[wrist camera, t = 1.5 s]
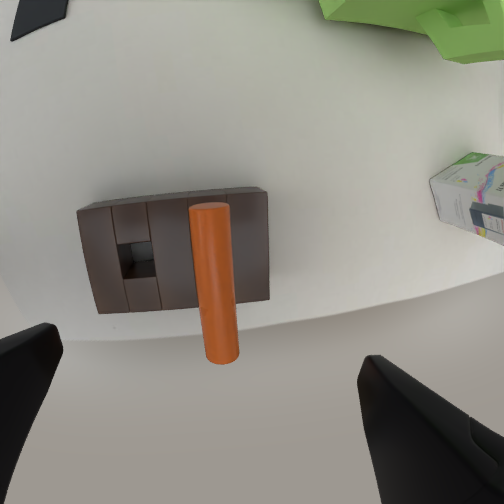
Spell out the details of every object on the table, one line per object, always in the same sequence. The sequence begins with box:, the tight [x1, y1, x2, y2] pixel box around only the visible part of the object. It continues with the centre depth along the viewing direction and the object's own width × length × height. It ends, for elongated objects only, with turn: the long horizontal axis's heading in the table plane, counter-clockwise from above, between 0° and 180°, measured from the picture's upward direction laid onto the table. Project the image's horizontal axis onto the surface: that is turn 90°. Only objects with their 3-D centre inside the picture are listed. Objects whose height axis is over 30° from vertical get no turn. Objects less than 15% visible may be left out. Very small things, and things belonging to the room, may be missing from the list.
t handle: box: [189, 202, 239, 364], centre depth 18 cm, size 2×8×10 cm, turn 2°
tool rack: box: [77, 187, 270, 314], centre depth 20 cm, size 13×8×4 cm, turn 92°
